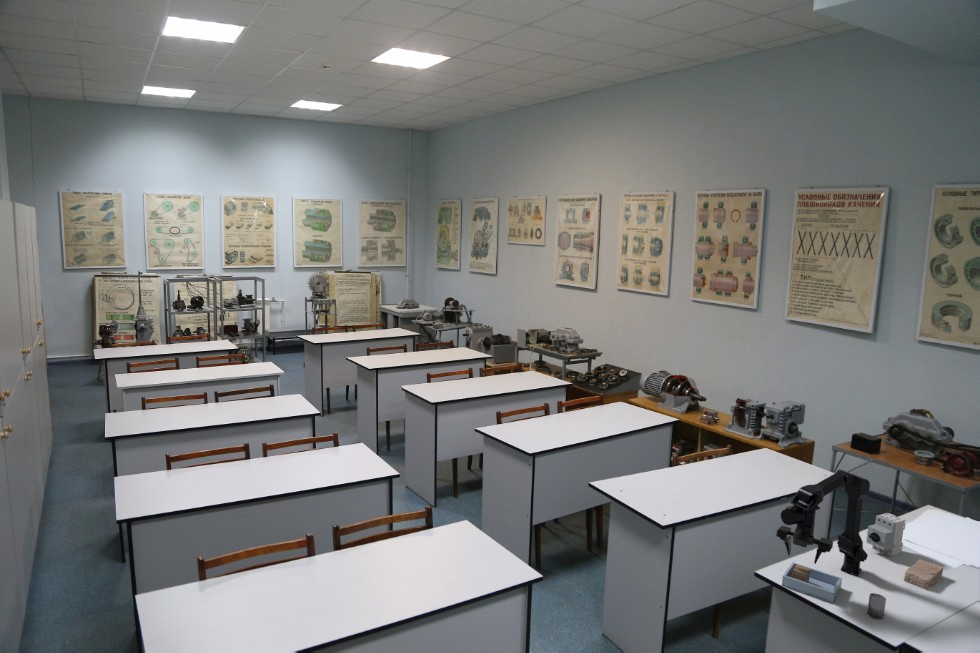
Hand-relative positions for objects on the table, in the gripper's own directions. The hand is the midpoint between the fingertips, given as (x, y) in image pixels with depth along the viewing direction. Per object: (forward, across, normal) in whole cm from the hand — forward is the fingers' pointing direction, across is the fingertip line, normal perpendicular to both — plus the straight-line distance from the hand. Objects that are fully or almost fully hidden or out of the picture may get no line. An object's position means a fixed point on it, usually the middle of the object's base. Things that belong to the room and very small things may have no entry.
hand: (802, 559), depth 244 cm
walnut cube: (+9, 0, 0) cm, 9 cm away
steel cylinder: (+10, +26, -5) cm, 28 cm away
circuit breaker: (+10, +20, +50) cm, 55 cm away
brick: (+10, +36, +36) cm, 52 cm away
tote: (+10, +4, 0) cm, 11 cm away
